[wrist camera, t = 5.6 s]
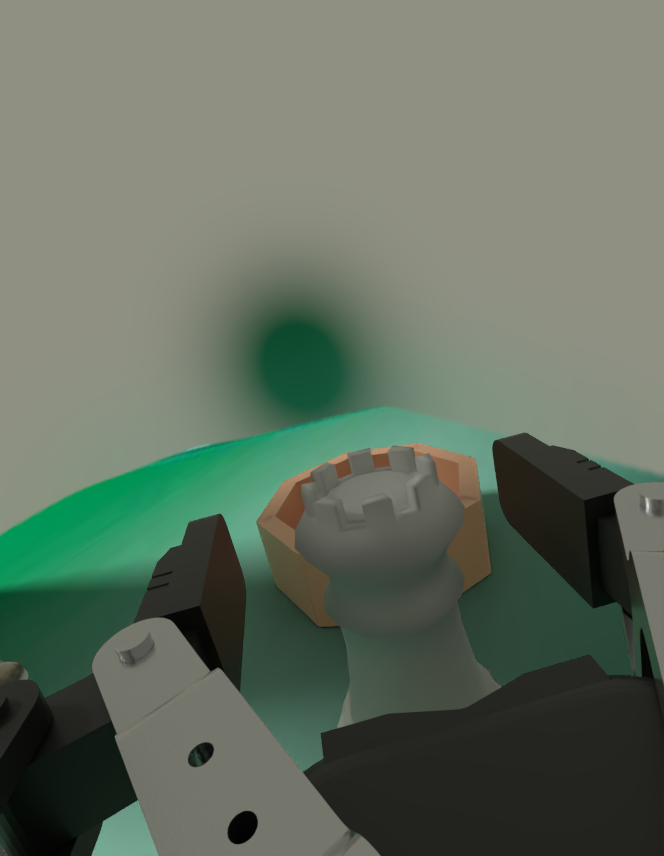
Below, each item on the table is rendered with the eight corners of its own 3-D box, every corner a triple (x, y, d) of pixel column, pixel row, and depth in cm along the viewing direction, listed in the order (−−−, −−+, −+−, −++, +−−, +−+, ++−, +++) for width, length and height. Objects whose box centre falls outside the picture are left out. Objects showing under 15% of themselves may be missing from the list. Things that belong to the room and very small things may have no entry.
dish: (254, 629, 18) (230, 559, 17) (312, 511, 26) (298, 459, 25) (497, 620, 16) (484, 539, 15) (482, 494, 24) (473, 435, 23)
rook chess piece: (333, 899, 10) (213, 559, 8) (352, 707, 14) (278, 448, 12) (570, 899, 9) (519, 517, 7) (516, 695, 13) (472, 414, 11)
